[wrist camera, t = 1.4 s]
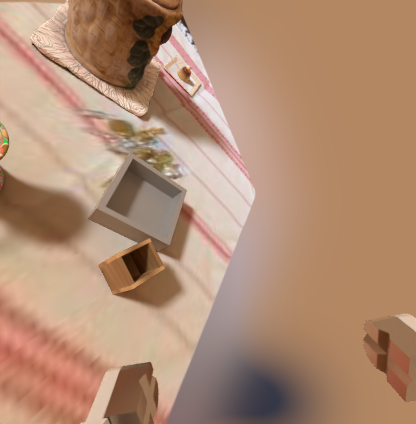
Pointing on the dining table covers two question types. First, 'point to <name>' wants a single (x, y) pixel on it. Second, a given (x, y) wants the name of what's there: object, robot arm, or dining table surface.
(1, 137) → the mug
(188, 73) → the dessert
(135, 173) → the grey crate
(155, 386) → the robot arm
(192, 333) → the dining table surface
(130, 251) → the square wooden cup
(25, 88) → the dining table surface
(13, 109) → the dining table surface
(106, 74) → the cookie jar
